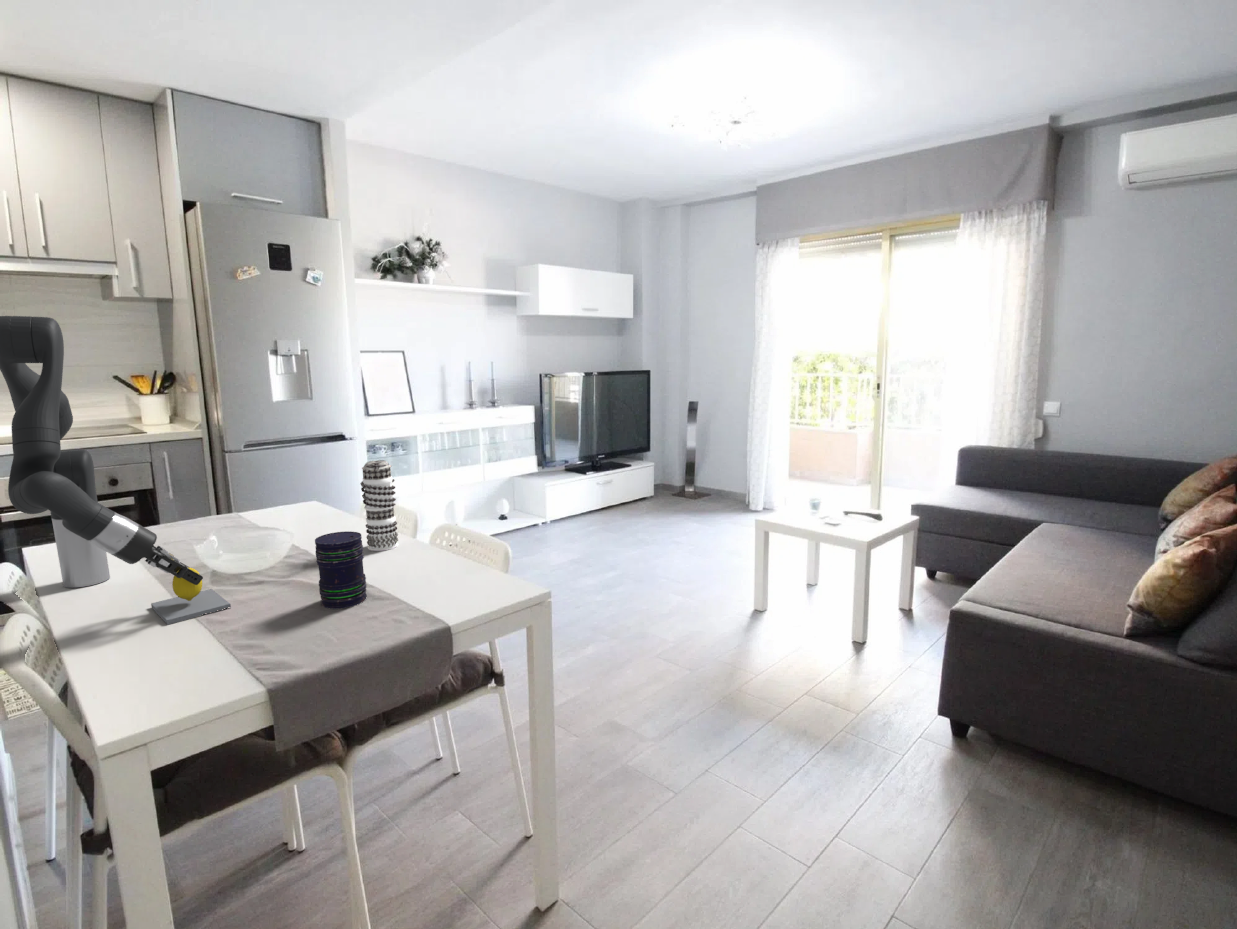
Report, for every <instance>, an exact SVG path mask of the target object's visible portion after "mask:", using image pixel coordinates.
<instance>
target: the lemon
mask: <svg viewBox="0 0 1237 929" xmlns="http://www.w3.org/2000/svg"><path fill="white" fill-rule="evenodd" d="M189 569H190V570H192V571H194V572H196V573H198V574H199V575H201V574H200V572H199V571H198V570H196V569H195V568H192V567H190V568H189ZM171 584H172V585H171V586H172V590H173V592H174V594H175V595H176V597H179V598H182V599H186V600H187V601H191V600H192V599H193V598H194V597H195V596H197V595H198V594H199V593H200V591H202V589H203V579H202V580H201V581H200V583H199V584H198V585H194V584H192V583H191V582H189V581H187V580H185V579H183V578H177V577H176V576H175V575H173V578H172V583H171Z"/></svg>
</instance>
